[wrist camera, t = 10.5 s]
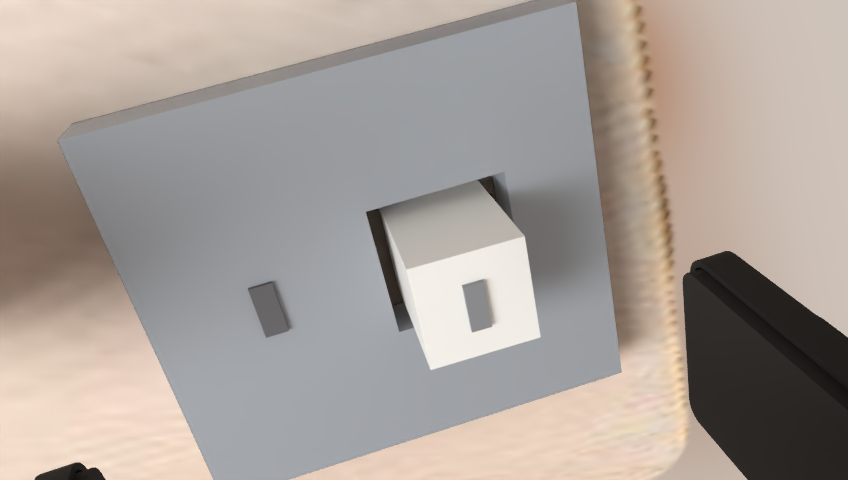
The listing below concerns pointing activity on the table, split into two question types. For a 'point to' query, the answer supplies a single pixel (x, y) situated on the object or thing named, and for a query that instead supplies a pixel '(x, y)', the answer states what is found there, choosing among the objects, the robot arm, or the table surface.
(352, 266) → the grey peg hole board
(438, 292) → the charger block
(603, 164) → the table surface
